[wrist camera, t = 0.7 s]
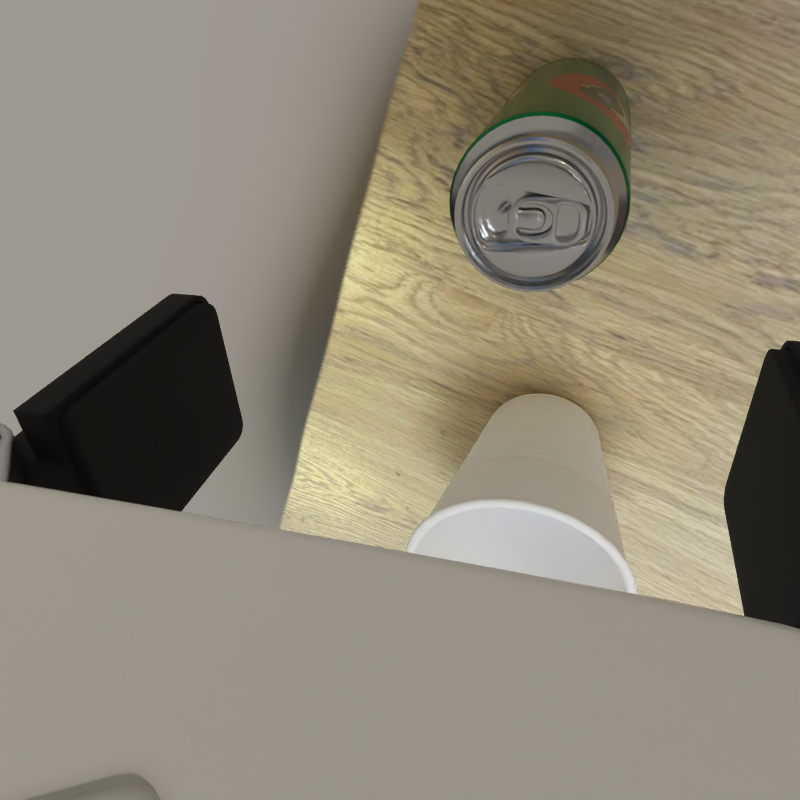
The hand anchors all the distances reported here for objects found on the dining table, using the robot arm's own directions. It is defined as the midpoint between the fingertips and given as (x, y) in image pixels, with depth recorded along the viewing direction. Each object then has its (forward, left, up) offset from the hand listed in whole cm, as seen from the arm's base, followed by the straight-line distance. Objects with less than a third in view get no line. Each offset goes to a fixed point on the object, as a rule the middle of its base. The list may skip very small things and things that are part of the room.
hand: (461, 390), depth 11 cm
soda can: (0, 0, -20) cm, 20 cm away
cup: (+10, +13, -20) cm, 26 cm away
